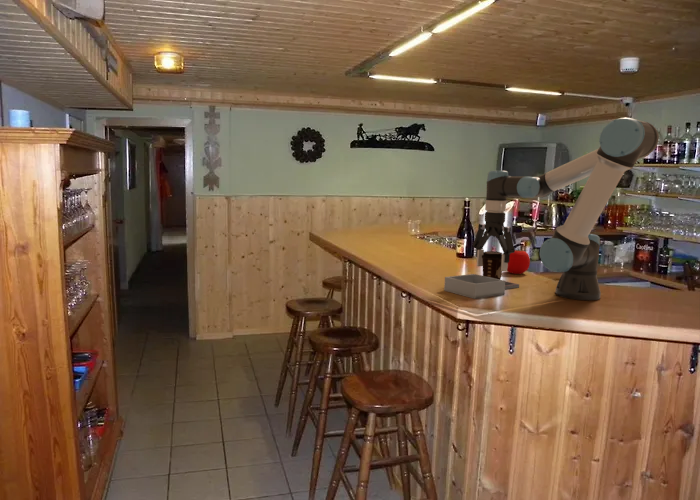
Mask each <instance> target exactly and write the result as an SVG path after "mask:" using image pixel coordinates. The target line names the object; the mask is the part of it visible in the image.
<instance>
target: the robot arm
mask: <svg viewBox="0 0 700 500" xmlns="http://www.w3.org/2000/svg"><path fill="white" fill-rule="evenodd" d="M659 137H660V136H659V132H658V130H657V128H656V127H655V126H654V125H653V124H651V123H650V122H647V121H643V120H639V119H635V118H632V117H620V118H616V119H613V120H611V121H610V122H608V123H607V124H606V125H605V126H604V127H603V128H602V130H601V132H600V134H599V137H598V139H599V140H598V142H599V147H598V148H596V149H595V150H592V151H590V152H588V153H586V154H584V155H581V156H579V157H576V159H573V160H570V161H568V162H566V163H565V164H561V165H560V166H558V167H555V168H553V169H551V170H550V171H547V172H546V173H543V174H541V175H539V176H530V175H529V176H527V175H526V176H522V175H521V176H511V175H509V172H508V171H507V170H490V171H488V173H487V178H486V179H487V180H486V195H485V196H486V198H485V206H484V207H485V208H484V210H485V212H484V222H485V223H478V227H477V232H476V234H475V237H474V240H473V242H472V247H473V248H475V249H476V250H475V251H476V253H475V254H476V256H475V257H476V267H483V264H482V255H483V254H484V252H485V250H484V246H485V245H486V243H487V242H488V241H489V239H490V238H491V237H495V238H496V239H497V240H498V242H499V246H500V247H501V250H502V262H501V271H502V272H508V271H507V268H508V263H509V259H510V254H511V253H514V252H515V250H516V249H515V245H514V242H513V237H512V233H511V231H512V229H511V226H505V225H504V224H505V222H506V213H505V212H507V211H506V209H507V197H508V198H509V197H510V198H513V197H514V198H523V199H531V198H533V199H534V198H541V199H542V198H547V197H549V196H552V194H553V192H555V191H558V190H560V189H563V188H565V187H567V186H570V185H572V184H575V183H576V182H579V181H581V180H584V179H586V178H587V181H586V183H585V184H584V186H583V188H582V190H581V191H580V194H579V196H578V197H577V199H576V200H575V203H574V204H573V206H572V209H571V210H570V212H569V214H568V216H567V217H566V219H565V221H564V223H563V224H562V225H559V226H557V227H556V228H555V230H554V232H553V233H552V235H551V237H550V238H547V239H546V240H545V241H544V242H543V243H542V244H541V246H540V248H539V258H540V261H541V264H542V265H543V266H544V267H545V268H546V269H548V270H549V271H551V272H555V273H561V275H560V278H559V280H558V282H557V285H556V286H555V291H554V293H555V294H556V295H557V296H559V297H561V298H565V299H569V300H577V301H578V300H579V301H597V300H600V299H601V293H602V291H601V289H600V284H599V281H598V267H599V259H600V258H599V256H600V247H601V238H600V236H599V235H597V234H594V233H591V232H592V230H593V228H594V226H595V225H596V223H597V221H598V219H599V218H600V216H601V214H602V212H603V211H604V209H605V208H606V205H607V203H608V202H609V200H610V198H611V196H612V195H613V192H614V191H615V189H616V188H617V186H618V184H619V183H620V181H621V179H622V177H623V176H624V174H625V172H627V171H628V170H629V171H630V170H632V169H633V168H634V166H635V165H636V163H637V161H638V160H639V159H643V158H645V157H647V156H649V155H650V154H652V152H654V151H655V149H656V148H657V146H658V143H659Z"/></svg>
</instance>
